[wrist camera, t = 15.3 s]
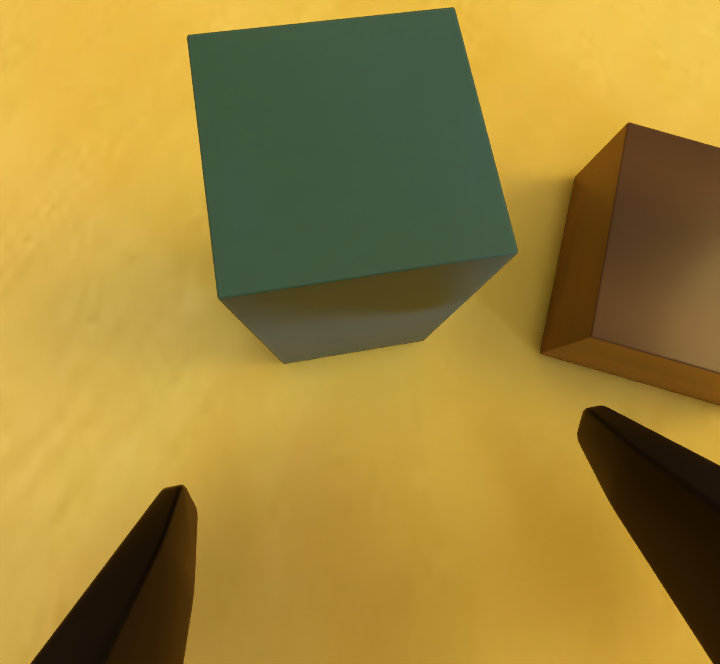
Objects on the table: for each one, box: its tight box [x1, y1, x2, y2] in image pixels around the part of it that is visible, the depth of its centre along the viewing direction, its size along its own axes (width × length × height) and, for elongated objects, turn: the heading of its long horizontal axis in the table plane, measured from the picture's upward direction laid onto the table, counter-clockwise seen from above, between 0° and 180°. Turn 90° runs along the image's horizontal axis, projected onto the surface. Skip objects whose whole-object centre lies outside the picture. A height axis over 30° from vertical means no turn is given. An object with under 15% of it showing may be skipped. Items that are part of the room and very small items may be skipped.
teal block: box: [187, 7, 518, 364], centre depth 13 cm, size 6×6×9 cm
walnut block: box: [541, 123, 720, 405], centre depth 16 cm, size 8×8×4 cm
